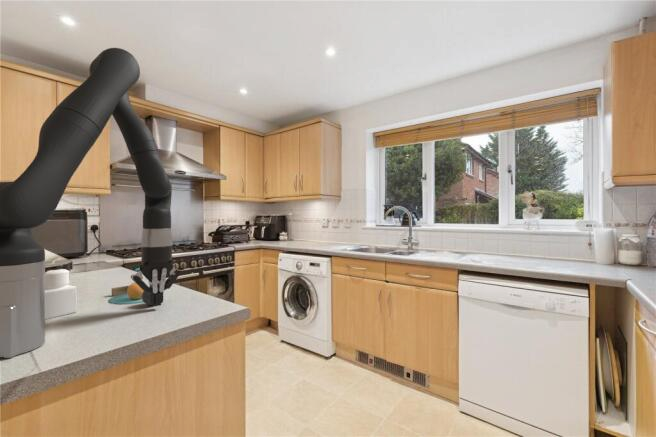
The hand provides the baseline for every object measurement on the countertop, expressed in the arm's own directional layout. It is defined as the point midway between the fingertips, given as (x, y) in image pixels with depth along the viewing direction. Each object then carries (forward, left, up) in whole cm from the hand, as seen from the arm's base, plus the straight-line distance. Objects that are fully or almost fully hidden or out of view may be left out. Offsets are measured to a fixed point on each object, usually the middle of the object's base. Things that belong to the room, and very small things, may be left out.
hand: (156, 305), depth 86 cm
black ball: (+5, +3, +2) cm, 6 cm away
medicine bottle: (-1, +25, -1) cm, 25 cm away
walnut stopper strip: (+19, +16, -1) cm, 25 cm away
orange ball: (+11, +10, +2) cm, 15 cm away
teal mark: (+13, +11, -1) cm, 18 cm away
